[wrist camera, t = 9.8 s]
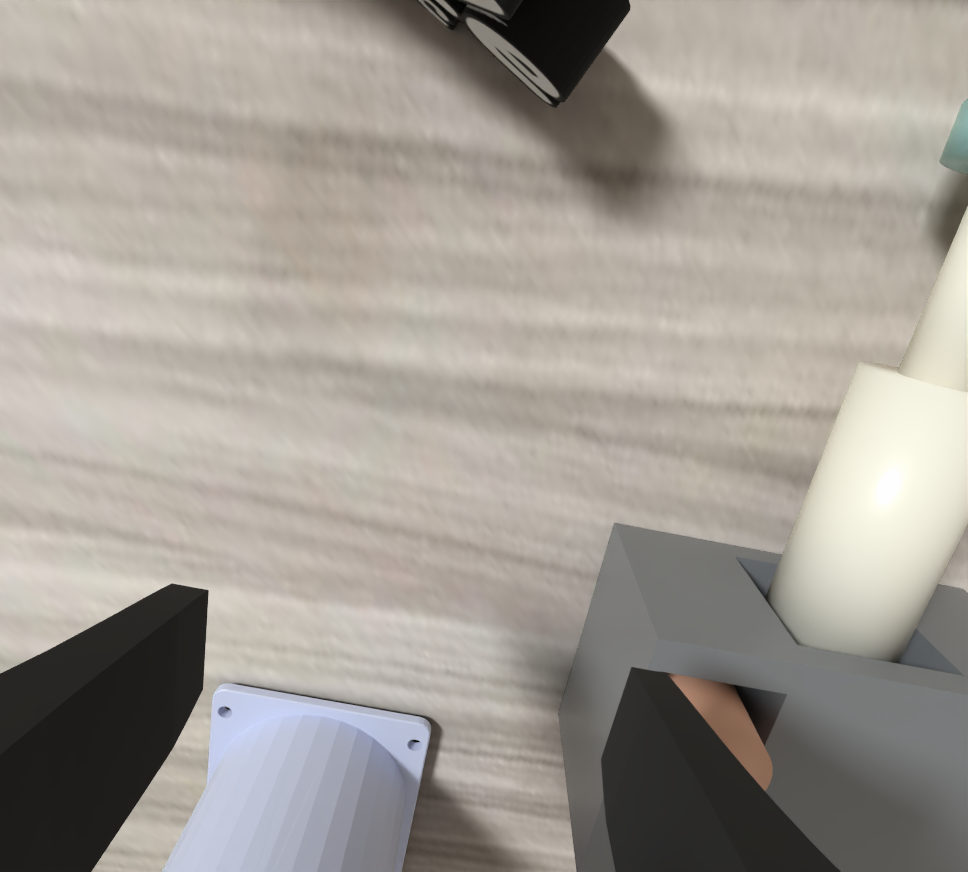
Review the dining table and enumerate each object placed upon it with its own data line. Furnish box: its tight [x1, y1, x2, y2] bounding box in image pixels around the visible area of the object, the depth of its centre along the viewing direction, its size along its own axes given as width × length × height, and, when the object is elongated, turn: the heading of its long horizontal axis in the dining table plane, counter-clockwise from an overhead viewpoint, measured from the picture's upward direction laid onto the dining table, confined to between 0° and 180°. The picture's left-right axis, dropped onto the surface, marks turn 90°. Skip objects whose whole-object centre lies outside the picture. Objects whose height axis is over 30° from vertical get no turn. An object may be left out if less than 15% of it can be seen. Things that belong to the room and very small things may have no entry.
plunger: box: [659, 671, 773, 791], centre depth 16 cm, size 2×2×3 cm
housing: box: [558, 523, 968, 872], centre depth 19 cm, size 8×12×6 cm, turn 79°
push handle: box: [765, 99, 968, 664], centre depth 16 cm, size 14×4×4 cm, turn 169°
